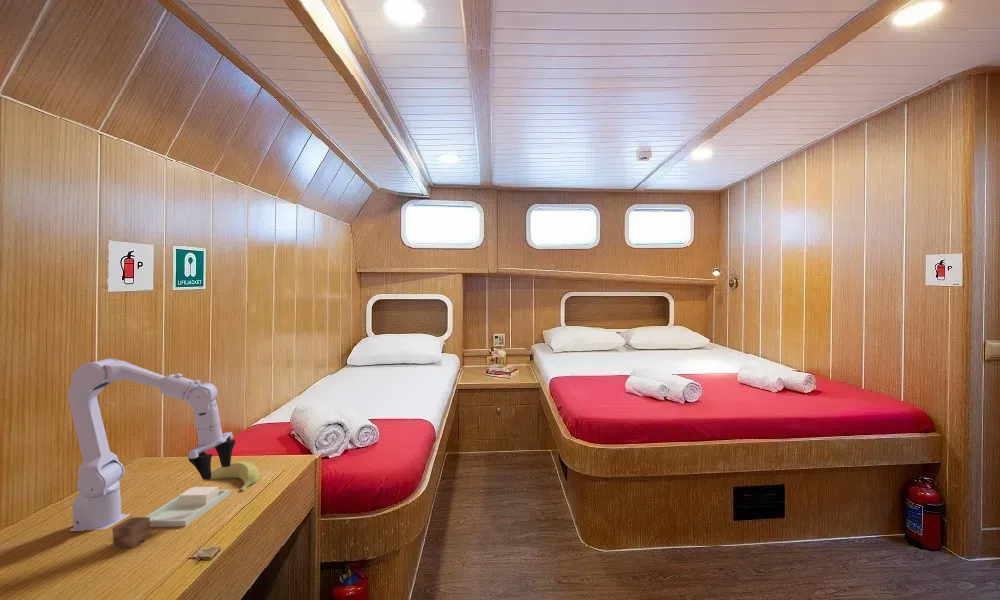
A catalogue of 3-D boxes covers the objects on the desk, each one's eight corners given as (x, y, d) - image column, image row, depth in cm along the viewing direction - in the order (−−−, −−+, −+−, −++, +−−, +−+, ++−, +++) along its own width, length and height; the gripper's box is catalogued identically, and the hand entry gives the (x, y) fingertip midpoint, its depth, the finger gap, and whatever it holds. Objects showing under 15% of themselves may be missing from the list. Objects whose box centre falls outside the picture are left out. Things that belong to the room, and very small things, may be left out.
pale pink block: (179, 505, 126) (178, 495, 126) (192, 497, 132) (192, 487, 132) (206, 505, 126) (206, 494, 126) (218, 496, 131) (218, 486, 131)
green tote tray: (137, 529, 115) (137, 521, 115) (188, 496, 133) (188, 490, 133) (185, 528, 115) (185, 520, 115) (230, 496, 133) (230, 489, 133)
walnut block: (113, 548, 107) (112, 528, 107) (131, 537, 112) (130, 517, 112) (133, 548, 107) (132, 527, 107) (150, 536, 112) (149, 517, 112)
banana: (249, 449, 152) (259, 474, 137) (254, 463, 154) (265, 489, 138) (204, 469, 145) (209, 498, 129) (209, 483, 146) (215, 514, 131)
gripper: (202, 434, 118) (211, 483, 118) (239, 416, 132) (246, 460, 133) (178, 436, 118) (186, 485, 119) (217, 418, 133) (224, 462, 133)
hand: (216, 472), depth 126 cm, fingers open, 7 cm apart
